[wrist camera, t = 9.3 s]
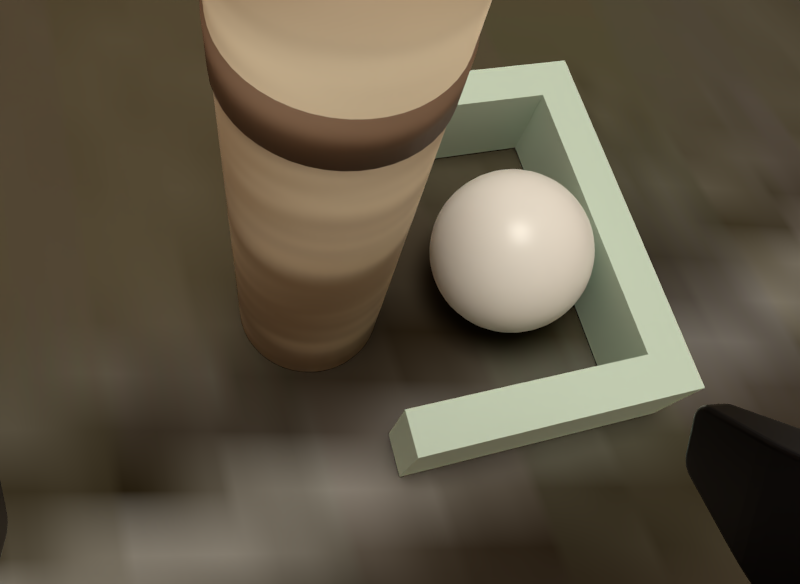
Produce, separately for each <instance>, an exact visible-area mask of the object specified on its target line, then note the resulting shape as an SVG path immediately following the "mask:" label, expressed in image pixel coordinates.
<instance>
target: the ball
mask: <svg viewBox="0 0 800 584" xmlns="http://www.w3.org/2000/svg"><path fill="white" fill-rule="evenodd" d="M429 253H430V265H431V270H432V273H433V277H434V280H435V282H436V285H437V287H438V289H439V291H440V293H441V294H442V296H443V297H444V299H445V300H446V301H447V303H448V304H449V305H450V306H451V307H452V308H453V309H454V310H455V311H456V312H457V313H458V314H460V315H461V316H462V317H464V318H465V319H466V320H468V321H470V322H471V323H473V324H475V325H477V326H480V327H482V328H485V329H489V330H492V331H497V332H505V333H519V332H525V331H531V330H535V329H538V328H541V327H543V326H546V325H548V324H550V323H552V322H553V321H555V320H557V319H558V318H560V317H561V316H562V315H564V314H565V313H566V312H567V311H568V310H569V309H570V308H571V307H572V306H573V305H574V304H575V303H576V302H577V301H578V299H579V298H580V296H581V295H582V293H583V292H584V290H585V288H586V286H587V284H588V281H589V279H590V276H591V273H592V269H593V265H594V257H595V244H594V235H593V231H592V227H591V224H590V221H589V219H588V217H587V215H586V213H585V211H584V209H583V208H582V206H581V205H580V203H579V202H578V200H577V199H576V198H575V197H574V196H573V195H572V194H571V193H570V192H569V191H568V190H567V189H566V188H565V187H564V186H562V185H561V184H560V183H558V182H557V181H555V180H553V179H551V178H549V177H547V176H544V175H542V174H539V173H536V172H533V171H527V170H520V169H506V170H498V171H493V172H490V173H487V174H484V175H481V176H479V177H477V178H475V179H473V180H471V181H469V182H467V183H466V184H465V185H463V186H462V187H461V188H460V189H458V190H457V191H456V192H455V193H454V194H453V195H452V196H451V197H450V198H449V199H448V201H447V202H446V203H445V204H444V206H443V208H442V209H441V211H440V213H439V214H438V216H437V219H436V221H435V223H434V226H433V230H432V234H431V238H430V249H429Z"/></svg>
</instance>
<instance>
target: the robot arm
mask: <svg viewBox="0 0 800 584" xmlns="http://www.w3.org/2000/svg"><path fill="white" fill-rule="evenodd" d="M686 467H687V470H688V473H689V475H690V477H691V479H692V481H693V483H694V485H695V486H696V488H697V490H698V492H699V494H700V495H701V497H702V499H703V501H704V503H705V505H706V506H707V508H708V510H709V512H710V514H711V515H712V517H713V519H714V521H715V523H716V524H717V526H718V528H719V530H720V532H721V534H722V535H723V537H724V539H725V541H726V543H727V544H728V546H729V548H730V550H731V552H732V553H733V555H734V557H735V559H736V560H737V562H738V564H739V565H740V567H741V569H742V570H743V572H744V573H745V575H746V576H747V578H748V579H749V581H750V583H751V584H800V429H799V428H796V427H794V426H791V425H788V424H785V423H782V422H779V421H777V420H774V419H771V418H768V417H765V416H762V415H760V414H757V413H754V412H751V411H748V410H745V409H743V408H740V407H737V406H734V405H731V404H714V405H704V406H701V407H700V408H699V409H698V410H697V411H696V413H695V415H694V419H693V424H692V429H691V433H690V438H689V443H688V447H687V452H686ZM7 523H8V522H7V512H6V507H5V502H4V497H3V492H2V487H1V482H0V557H1V553H2V550H3V546H4V542H5V539H6V534H7Z"/></svg>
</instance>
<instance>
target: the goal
mask: <svg viewBox="0 0 800 584" xmlns="http://www.w3.org/2000/svg"><path fill="white" fill-rule="evenodd" d="M508 148H515V149H516V151H517V154H518V156H519V159H520V162H521V164H522V167H523V170H527V171H533V172H536V173H539V174H542V175H544V176H547V177H549V178H551V179H553V180H555V181H557V182H558V183H560V184H561V185H562V186H564V187H565V188H566V189H567V190H568V191H569V192H570V193H571V194H572V195H573V196H574V197H575V198H576V199H577V200H578V202H579V203H580V205H581V206H582V208H583V209H584V211H585V213H586V215H587V217H588V219H589V221H590V224H591V227H592V231H593V235H594V244H595V257H594V265H593V269H592V273H591V276H590V279H589V281H588V284H587V286H586V288H585V290H584V292H583V293H582V295H581V296H580V298H579V299H578V301H577V302H576V303H575V304H574V305H575V308H576V311H577V313H578V316H579V319H580V321H581V324H582V326H583V329H584V332H585V334H586V337H587V340H588V342H589V345H590V348H591V350H592V353H593V356H594V358H595V361H596V364H597V366H595V367H591V368H586V369H582V370H577V371H573V372H568V373H564V374H560V375H555V376H551V377H546V378H542V379H538V380H533V381H529V382H524V383H520V384H516V385H511V386H507V387H502V388H498V389H494V390H489V391H485V392H480V393H476V394H471V395H467V396H463V397H458V398H454V399H449V400H445V401H441V402H436V403H432V404H427V405H423V406H419V407H414V408H410V409H405V411H404V412H403V413H402V415H401V416H400V418H399V419H398V421H397V422H396V424H395V425H394V427H393V428H392V430H391V431H390V433H389V438H390V442H391V446H392V450H393V454H394V458H395V462H396V465H397V469H398V473H399V477H402V476H406V475H410V474H413V473H417V472H421V471H425V470H429V469H433V468H437V467H441V466H445V465H449V464H453V463H457V462H461V461H465V460H469V459H473V458H477V457H481V456H485V455H489V454H493V453H497V452H501V451H505V450H509V449H513V448H517V447H521V446H525V445H529V444H533V443H537V442H541V441H545V440H549V439H553V438H557V437H561V436H565V435H569V434H573V433H577V432H581V431H585V430H589V429H593V428H597V427H601V426H605V425H609V424H613V423H617V422H621V421H625V420H629V419H633V418H637V417H641V416H645V415H649V414H653V413H655V412H657V411H659V410H661V409H663V408H665V407H667V406H669V405H671V404H673V403H675V402H677V401H679V400H681V399H683V398H685V397H687V396H689V395H691V394H693V393H695V392H697V391H699V390H701V389H703V388H705V387H704V385H703V382H702V380H701V378H700V375H699V373H698V371H697V368H696V366H695V364H694V361H693V359H692V357H691V354H690V352H689V350H688V347H687V345H686V343H685V340H684V338H683V336H682V333H681V331H680V329H679V326H678V324H677V322H676V319H675V317H674V315H673V312H672V310H671V308H670V305H669V303H668V301H667V298H666V296H665V294H664V291H663V289H662V287H661V284H660V282H659V280H658V277H657V275H656V273H655V270H654V268H653V266H652V263H651V261H650V259H649V256H648V254H647V252H646V249H645V247H644V245H643V242H642V240H641V238H640V235H639V233H638V231H637V228H636V226H635V224H634V221H633V219H632V217H631V214H630V212H629V210H628V207H627V205H626V203H625V200H624V198H623V196H622V193H621V191H620V189H619V186H618V184H617V182H616V179H615V177H614V175H613V172H612V170H611V168H610V165H609V163H608V161H607V158H606V156H605V154H604V151H603V149H602V147H601V144H600V142H599V140H598V137H597V135H596V133H595V130H594V128H593V126H592V123H591V121H590V119H589V116H588V114H587V112H586V109H585V107H584V105H583V102H582V100H581V98H580V95H579V93H578V91H577V88H576V86H575V84H574V81H573V79H572V77H571V74H570V72H569V70H568V67H567V65H566V63H565V61H556V62H547V63H537V64H528V65H518V66H509V67H500V68H490V69H481V70H471V71H470V72H469V75H468V78H467V80H466V83H465V86H464V88H463V91H462V94H461V97H460V99H459V102H458V105H457V108H456V110H455V112H454V114H453V116H452V118H451V120H450V122H449V123H448V125H447V126H446V129H445V132H444V134H443V137H442V140H441V143H440V146H439V148H438V151H437V154H436V157H435V158H442V157H450V156H457V155H464V154H472V153H479V152H486V151H493V150H501V149H508Z"/></svg>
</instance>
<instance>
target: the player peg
mask: <svg viewBox="0 0 800 584" xmlns="http://www.w3.org/2000/svg"><path fill="white" fill-rule="evenodd" d="M199 1H200V17H201V24H202V32H203V40H204V48H205V56H206V64H207V71H208V76H209V81H210V85H211V87H212V90H213V94H214V102H215V111H216V119H217V127H218V135H219V144H220V152H221V160H222V169H223V177H224V185H225V193H226V202H227V210H228V218H229V227H230V235H231V243H232V251H233V260H234V268H235V276H236V285H237V293H238V301H239V309H240V317H241V322H242V325H243V328H244V331H245V333H246V335H247V337H248V339H249V341H250V342H251V343H252V345H253V346H254V347H255V348H256V349H257V350H258V352H259V353H260V354H262V355H263V356H264V357H265V358H267V359H268V360H270V361H271V362H273V363H275V364H277V365H279V366H281V367H284V368H287V369H290V370H295V371H301V372H316V371H323V370H328V369H331V368H334V367H337V366H339V365H341V364H343V363H345V362H347V361H348V360H350V359H351V358H353V357H354V356H355V355H356V354H357V353H358V352H359V351H360V350H361V349H362V348H363V347H364V345H365V344H366V342H367V341H368V339H369V338H370V335H371V333H372V331H373V329H374V326H375V323H376V320H377V317H378V315H379V312H380V309H381V306H382V304H383V301H384V298H385V295H386V293H387V290H388V287H389V284H390V281H391V279H392V276H393V273H394V270H395V268H396V265H397V262H398V259H399V256H400V254H401V251H402V248H403V245H404V243H405V240H406V237H407V234H408V232H409V229H410V226H411V223H412V220H413V218H414V215H415V212H416V209H417V207H418V204H419V201H420V198H421V195H422V193H423V190H424V187H425V184H426V182H427V179H428V176H429V173H430V171H431V168H432V165H433V162H434V159H435V157H436V154H437V151H438V148H439V146H440V143H441V140H442V137H443V134H444V132H445V129H446V126H447V125H448V123H449V122H450V120H451V118H452V116H453V114H454V112H455V110H456V108H457V105H458V102H459V99H460V97H461V94H462V91H463V88H464V86H465V83H466V80H467V78H468V75H469V72H470V69H471V67H472V64H473V61H474V59H475V56H476V52H477V48H478V45H479V37H480V32H481V29H482V26H483V24H484V21H485V18H486V15H487V12H488V10H489V7H490V4H491V1H492V0H199Z"/></svg>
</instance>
